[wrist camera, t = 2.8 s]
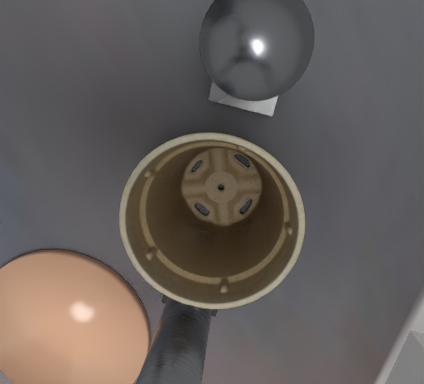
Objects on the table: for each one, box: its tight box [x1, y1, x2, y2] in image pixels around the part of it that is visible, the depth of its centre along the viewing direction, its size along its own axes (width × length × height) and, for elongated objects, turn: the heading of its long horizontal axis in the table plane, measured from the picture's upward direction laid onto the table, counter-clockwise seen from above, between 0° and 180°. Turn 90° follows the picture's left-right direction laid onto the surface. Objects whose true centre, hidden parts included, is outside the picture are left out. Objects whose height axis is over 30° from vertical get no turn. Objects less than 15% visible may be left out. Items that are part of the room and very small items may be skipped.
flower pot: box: [119, 132, 305, 309], centre depth 21 cm, size 9×9×9 cm
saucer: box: [0, 249, 150, 384], centre depth 29 cm, size 15×15×1 cm
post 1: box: [136, 295, 217, 384], centre depth 21 cm, size 4×4×14 cm
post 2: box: [200, 0, 314, 116], centre depth 16 cm, size 4×4×14 cm
